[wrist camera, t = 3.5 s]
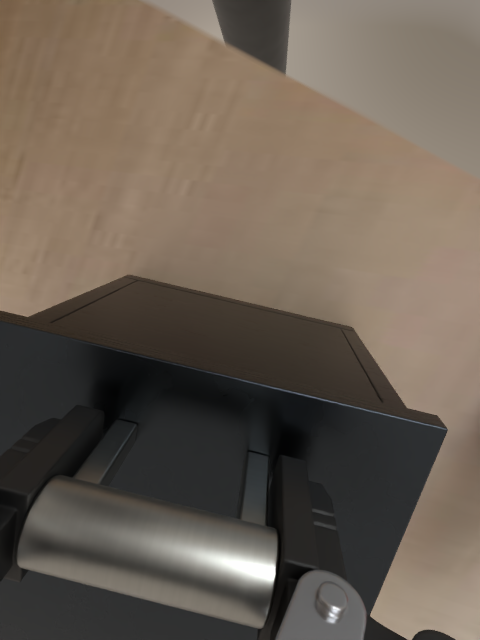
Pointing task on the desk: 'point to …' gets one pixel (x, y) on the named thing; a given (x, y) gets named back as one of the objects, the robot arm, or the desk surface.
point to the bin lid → (189, 487)
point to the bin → (228, 334)
